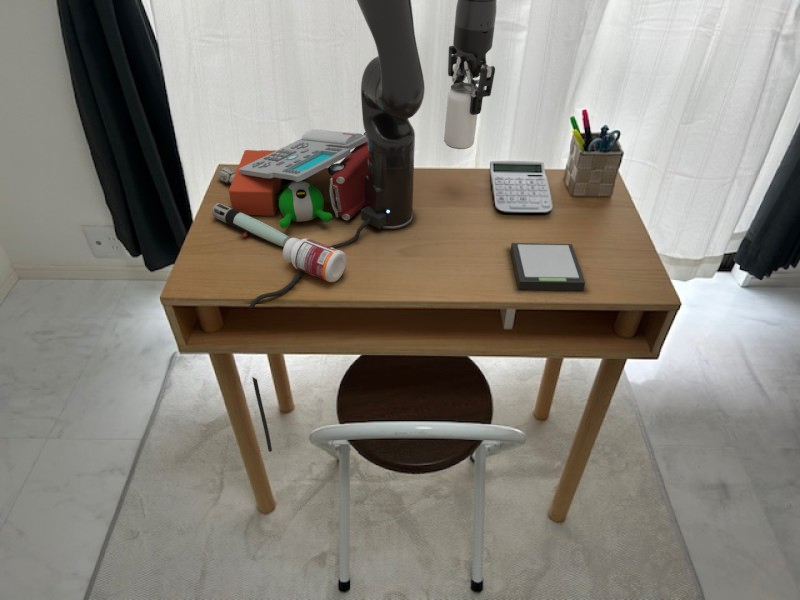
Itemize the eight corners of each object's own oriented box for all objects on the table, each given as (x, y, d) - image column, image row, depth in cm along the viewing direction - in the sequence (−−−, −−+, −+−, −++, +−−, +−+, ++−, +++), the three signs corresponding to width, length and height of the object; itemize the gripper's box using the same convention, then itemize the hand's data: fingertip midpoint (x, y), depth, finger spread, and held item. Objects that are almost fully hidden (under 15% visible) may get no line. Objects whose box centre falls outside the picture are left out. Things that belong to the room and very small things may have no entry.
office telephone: (317, 123, 144) (376, 128, 130) (320, 134, 145) (378, 140, 132) (235, 163, 131) (291, 172, 118) (240, 174, 133) (295, 185, 119)
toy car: (318, 173, 124) (363, 179, 121) (371, 123, 142) (412, 127, 138) (327, 220, 131) (369, 227, 127) (376, 166, 149) (415, 171, 145)
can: (472, 151, 129) (479, 95, 121) (441, 147, 130) (446, 91, 122) (475, 138, 134) (482, 83, 126) (446, 134, 135) (450, 80, 127)
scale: (518, 289, 115) (520, 279, 113) (510, 250, 124) (511, 241, 122) (582, 290, 115) (585, 280, 113) (569, 251, 124) (572, 242, 122)
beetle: (249, 170, 140) (250, 181, 142) (222, 162, 141) (224, 174, 144) (240, 179, 137) (242, 191, 140) (213, 172, 139) (215, 183, 141)
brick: (228, 190, 127) (232, 215, 131) (272, 191, 127) (275, 216, 131) (244, 149, 141) (248, 172, 145) (284, 150, 141) (286, 173, 145)
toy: (319, 170, 136) (328, 183, 122) (324, 207, 139) (333, 224, 125) (269, 177, 134) (273, 190, 120) (275, 214, 137) (280, 232, 123)
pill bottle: (346, 275, 118) (300, 256, 122) (348, 246, 114) (300, 228, 119) (327, 288, 113) (279, 269, 117) (329, 259, 110) (280, 240, 114)
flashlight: (284, 258, 123) (211, 223, 130) (296, 240, 124) (223, 207, 132) (278, 250, 120) (204, 215, 127) (290, 232, 121) (216, 198, 129)
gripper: (439, 13, 120) (433, 96, 131) (477, 36, 110) (468, 124, 121) (472, 9, 122) (464, 91, 133) (512, 31, 113) (500, 118, 124)
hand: (466, 106), depth 127 cm, fingers closed on can, 6 cm apart
